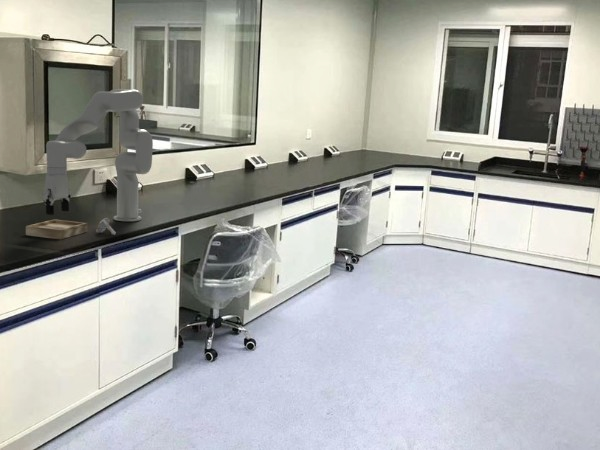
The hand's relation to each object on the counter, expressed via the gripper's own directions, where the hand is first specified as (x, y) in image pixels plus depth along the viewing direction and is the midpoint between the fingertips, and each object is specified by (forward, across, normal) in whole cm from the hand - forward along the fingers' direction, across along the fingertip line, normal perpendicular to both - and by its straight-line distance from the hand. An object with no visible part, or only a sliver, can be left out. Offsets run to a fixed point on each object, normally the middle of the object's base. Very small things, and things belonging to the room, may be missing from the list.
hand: (57, 212), depth 246 cm
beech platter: (+9, 0, 0) cm, 9 cm away
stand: (+11, -9, +16) cm, 21 cm away
